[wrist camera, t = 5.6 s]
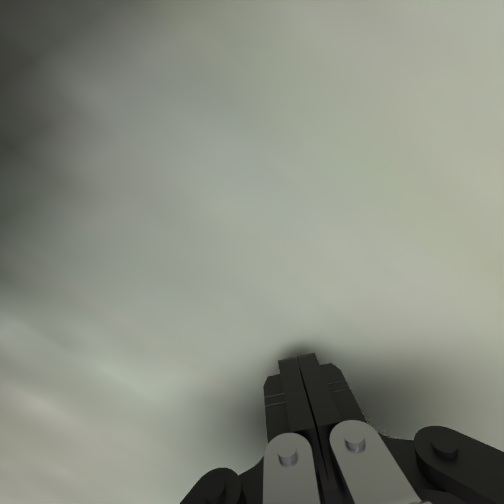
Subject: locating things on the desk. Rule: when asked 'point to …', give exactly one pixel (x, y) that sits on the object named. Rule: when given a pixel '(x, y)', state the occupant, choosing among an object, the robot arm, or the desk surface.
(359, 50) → the desk surface
